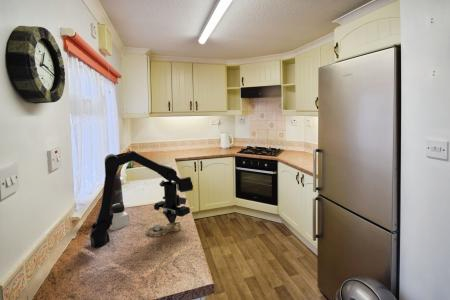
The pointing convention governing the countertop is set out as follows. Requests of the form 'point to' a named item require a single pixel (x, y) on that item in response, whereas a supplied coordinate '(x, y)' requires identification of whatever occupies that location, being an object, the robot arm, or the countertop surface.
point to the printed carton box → (119, 217)
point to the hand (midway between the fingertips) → (172, 225)
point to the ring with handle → (164, 229)
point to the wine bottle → (117, 192)
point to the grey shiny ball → (157, 228)
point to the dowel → (176, 228)
